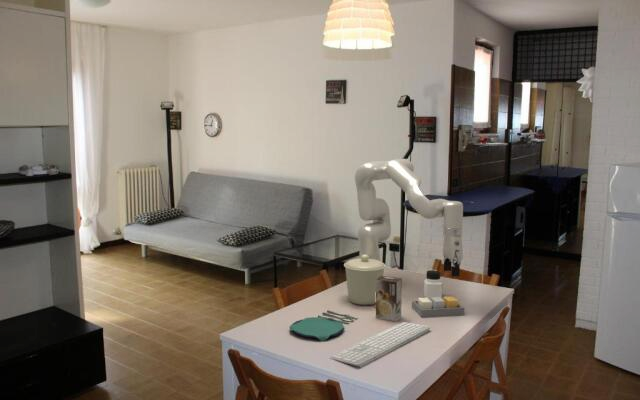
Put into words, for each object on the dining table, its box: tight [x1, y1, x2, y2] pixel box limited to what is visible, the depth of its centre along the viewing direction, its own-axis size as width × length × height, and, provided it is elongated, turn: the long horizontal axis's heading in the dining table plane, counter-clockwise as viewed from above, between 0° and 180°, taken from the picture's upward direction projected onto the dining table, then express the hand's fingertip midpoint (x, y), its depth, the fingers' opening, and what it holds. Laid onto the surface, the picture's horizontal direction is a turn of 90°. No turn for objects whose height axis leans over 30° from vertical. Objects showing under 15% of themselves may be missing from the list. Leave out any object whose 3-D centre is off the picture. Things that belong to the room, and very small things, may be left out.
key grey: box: [430, 297, 445, 309], centre depth 230 cm, size 4×6×3 cm
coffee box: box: [375, 275, 403, 322], centre depth 223 cm, size 9×6×16 cm
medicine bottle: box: [423, 269, 444, 300], centre depth 249 cm, size 7×7×12 cm
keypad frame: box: [411, 299, 465, 318], centre depth 231 cm, size 18×12×3 cm, turn 99°
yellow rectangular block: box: [442, 296, 459, 308], centre depth 231 cm, size 4×6×3 cm
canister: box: [343, 254, 387, 306], centre depth 242 cm, size 18×18×21 cm
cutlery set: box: [289, 309, 359, 342], centre depth 213 cm, size 20×30×2 cm, turn 146°
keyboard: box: [329, 321, 431, 368], centre depth 197 cm, size 44×12×2 cm, turn 138°
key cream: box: [417, 297, 432, 309], centre depth 229 cm, size 4×6×3 cm
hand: (451, 273), depth 229 cm, fingers open, 7 cm apart
